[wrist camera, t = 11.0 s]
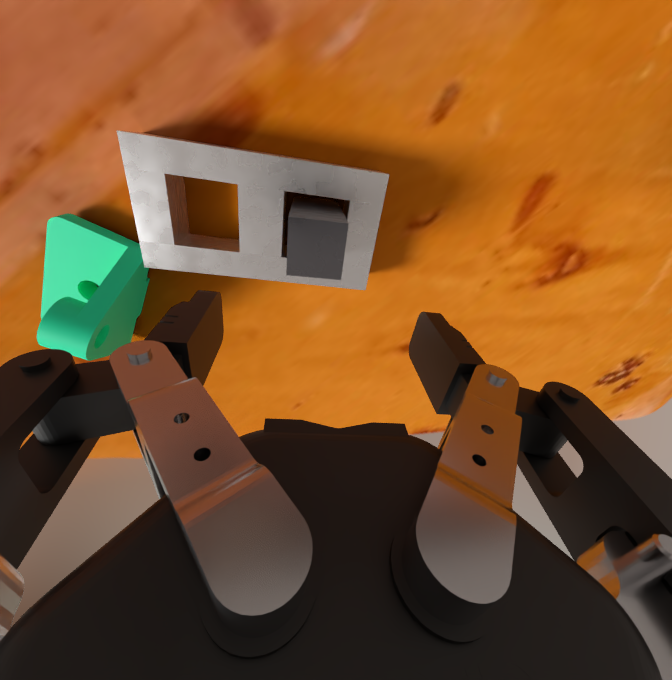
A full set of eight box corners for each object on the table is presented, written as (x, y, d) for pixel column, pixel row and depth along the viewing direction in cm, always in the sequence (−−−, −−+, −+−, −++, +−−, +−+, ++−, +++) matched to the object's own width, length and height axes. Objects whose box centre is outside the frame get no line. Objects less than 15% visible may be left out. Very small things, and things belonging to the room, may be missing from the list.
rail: (143, 132, 25) (116, 130, 21) (379, 170, 27) (389, 174, 24) (162, 253, 30) (144, 267, 26) (359, 275, 33) (365, 290, 29)
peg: (294, 195, 28) (288, 216, 20) (336, 201, 28) (348, 223, 20) (292, 239, 30) (286, 275, 22) (332, 243, 31) (341, 280, 22)
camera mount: (69, 206, 27) (-43, 234, 19) (158, 246, 30) (96, 288, 21) (58, 312, 32) (-33, 371, 24) (134, 338, 35) (77, 401, 26)
